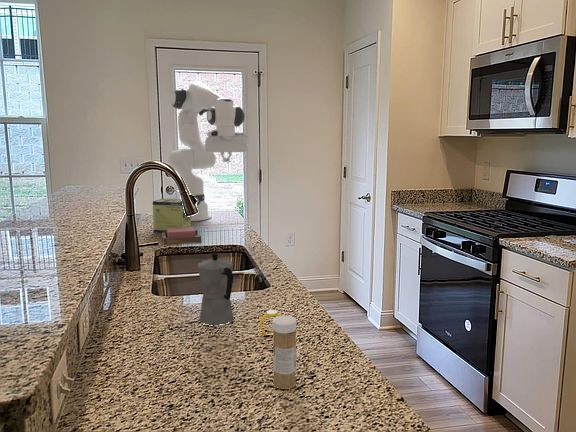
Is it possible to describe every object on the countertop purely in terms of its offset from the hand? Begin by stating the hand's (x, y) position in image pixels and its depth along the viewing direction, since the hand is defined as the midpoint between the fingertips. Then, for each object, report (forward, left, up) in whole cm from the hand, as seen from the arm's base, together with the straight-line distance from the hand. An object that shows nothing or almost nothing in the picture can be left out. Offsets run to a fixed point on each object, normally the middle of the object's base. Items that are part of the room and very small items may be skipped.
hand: (226, 161), depth 228 cm
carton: (+12, -24, -34) cm, 44 cm away
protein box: (-8, -26, -34) cm, 44 cm away
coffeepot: (+112, -23, -34) cm, 119 cm away
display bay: (+12, -23, -34) cm, 43 cm away
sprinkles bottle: (+147, -16, -34) cm, 152 cm away
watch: (+124, -12, -34) cm, 129 cm away
